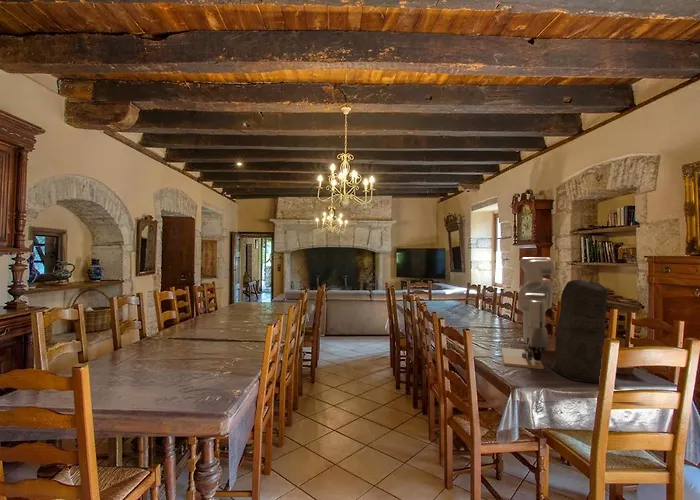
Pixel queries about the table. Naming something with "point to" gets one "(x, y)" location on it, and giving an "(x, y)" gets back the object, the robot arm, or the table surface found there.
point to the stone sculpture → (581, 331)
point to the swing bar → (528, 355)
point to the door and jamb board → (520, 358)
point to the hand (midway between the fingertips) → (537, 360)
